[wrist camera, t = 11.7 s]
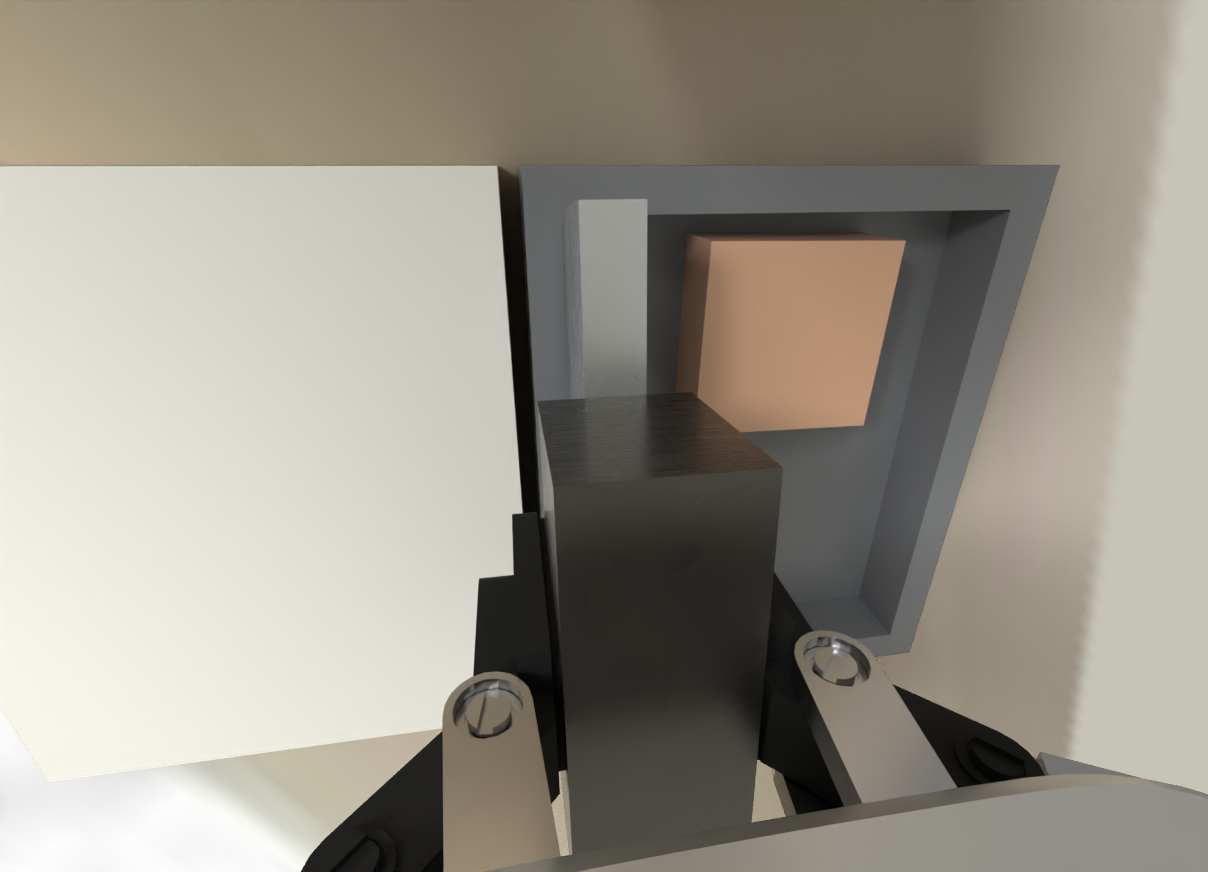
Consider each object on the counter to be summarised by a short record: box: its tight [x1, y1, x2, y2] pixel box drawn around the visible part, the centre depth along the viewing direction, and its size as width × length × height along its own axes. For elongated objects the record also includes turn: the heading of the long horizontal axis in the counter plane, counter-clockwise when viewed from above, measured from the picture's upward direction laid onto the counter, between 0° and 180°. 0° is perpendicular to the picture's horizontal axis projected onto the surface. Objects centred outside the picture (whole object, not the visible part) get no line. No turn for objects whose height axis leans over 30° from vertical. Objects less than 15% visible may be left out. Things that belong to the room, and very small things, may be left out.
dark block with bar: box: [537, 199, 783, 855], centre depth 12 cm, size 15×3×7 cm, turn 0°
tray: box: [518, 165, 1060, 657], centre depth 18 cm, size 16×13×2 cm
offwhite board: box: [0, 166, 523, 782], centre depth 15 cm, size 16×14×3 cm
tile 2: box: [675, 232, 906, 432], centre depth 16 cm, size 5×5×2 cm
